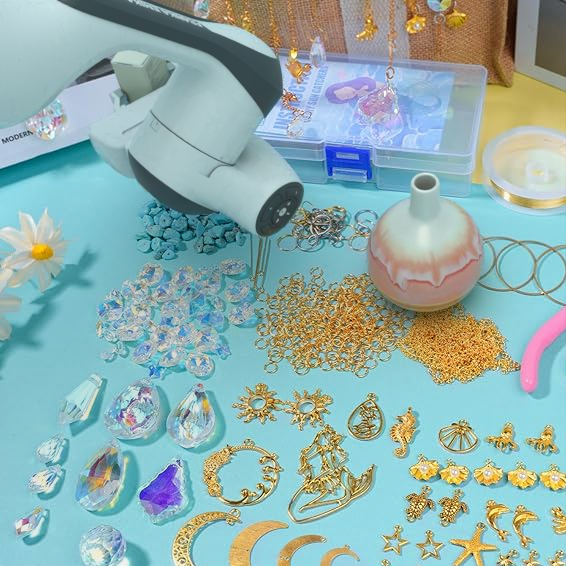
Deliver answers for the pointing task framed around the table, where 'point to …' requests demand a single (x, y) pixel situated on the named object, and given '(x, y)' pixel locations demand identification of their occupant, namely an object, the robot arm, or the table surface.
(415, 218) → the vase
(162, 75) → the box
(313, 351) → the table surface
